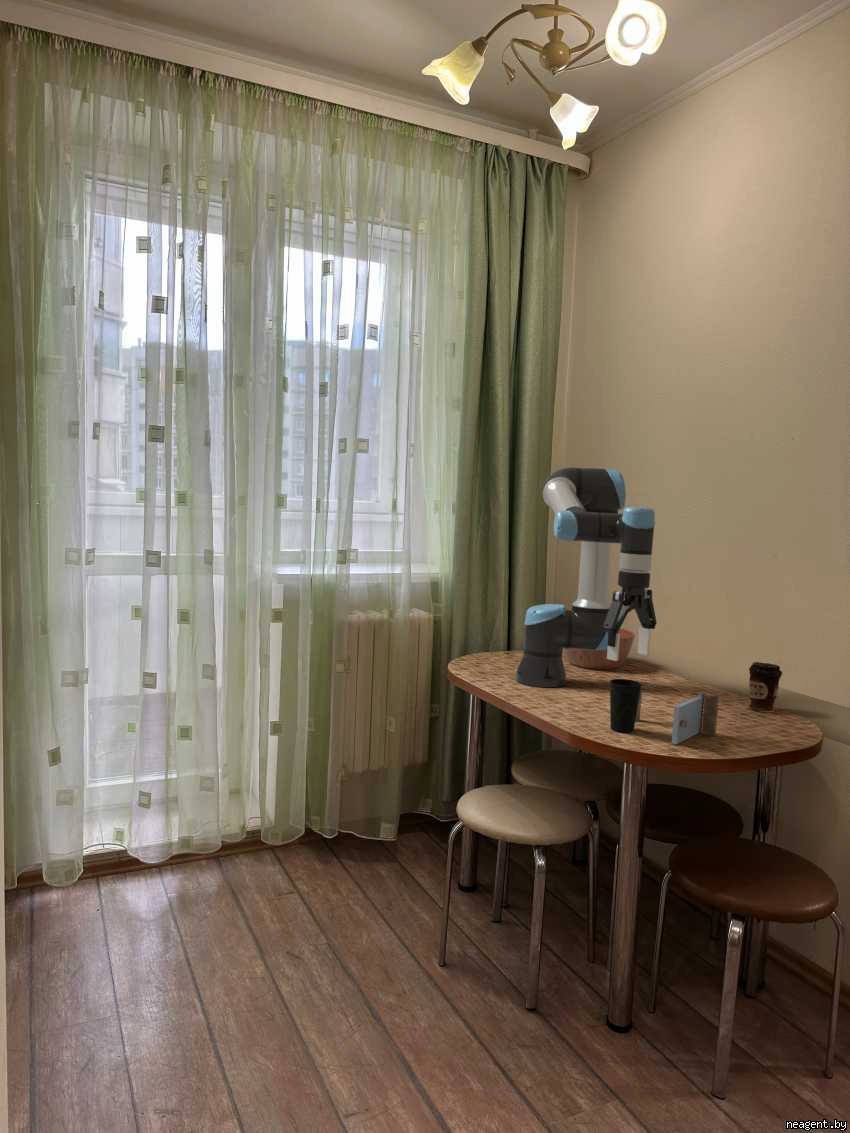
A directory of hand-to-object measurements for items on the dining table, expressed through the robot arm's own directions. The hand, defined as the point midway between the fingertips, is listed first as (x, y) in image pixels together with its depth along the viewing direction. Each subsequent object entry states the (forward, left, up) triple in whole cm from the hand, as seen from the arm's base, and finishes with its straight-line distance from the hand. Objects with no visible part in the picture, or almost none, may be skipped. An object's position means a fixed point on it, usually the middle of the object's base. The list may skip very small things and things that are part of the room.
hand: (628, 657), depth 211 cm
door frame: (+9, +11, -18) cm, 23 cm away
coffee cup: (+25, +46, -19) cm, 56 cm away
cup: (0, 0, -19) cm, 19 cm away
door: (+15, +4, -18) cm, 24 cm away
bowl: (-32, +69, -19) cm, 79 cm away
